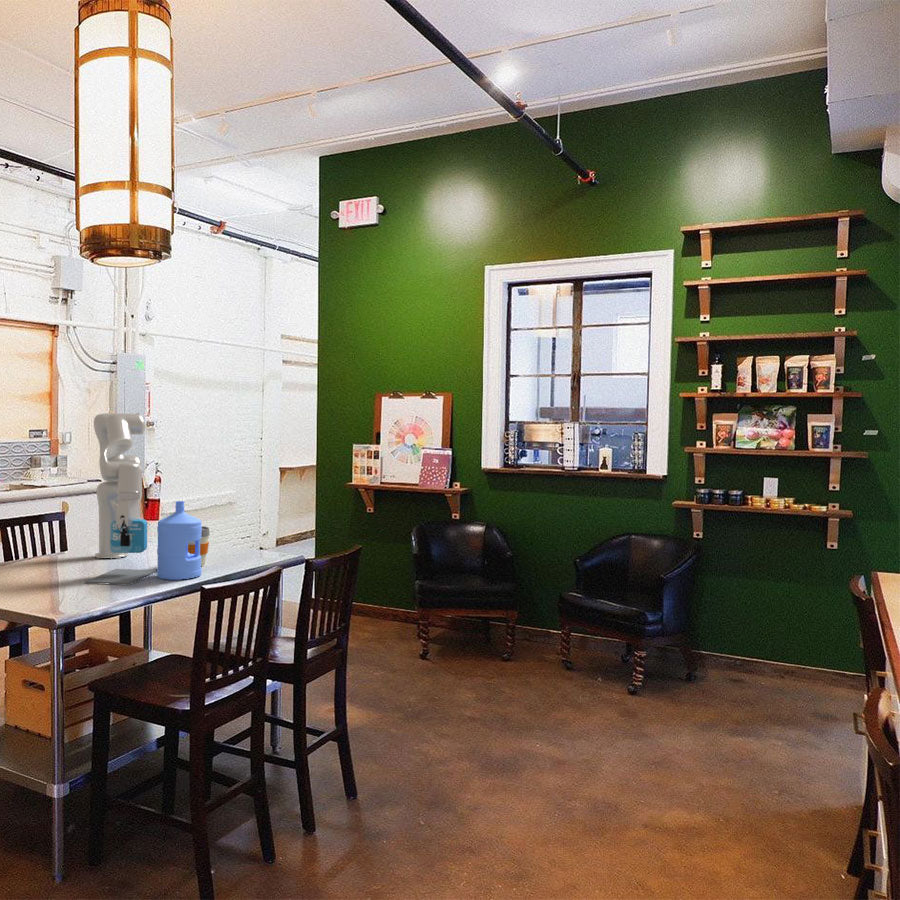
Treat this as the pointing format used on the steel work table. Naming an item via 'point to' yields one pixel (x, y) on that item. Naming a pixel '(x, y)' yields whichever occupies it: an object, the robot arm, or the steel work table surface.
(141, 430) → the robot arm
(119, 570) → the mat
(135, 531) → the data package
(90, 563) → the steel work table surface
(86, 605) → the steel work table surface
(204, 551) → the reusable coffee cup
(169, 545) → the water jug
